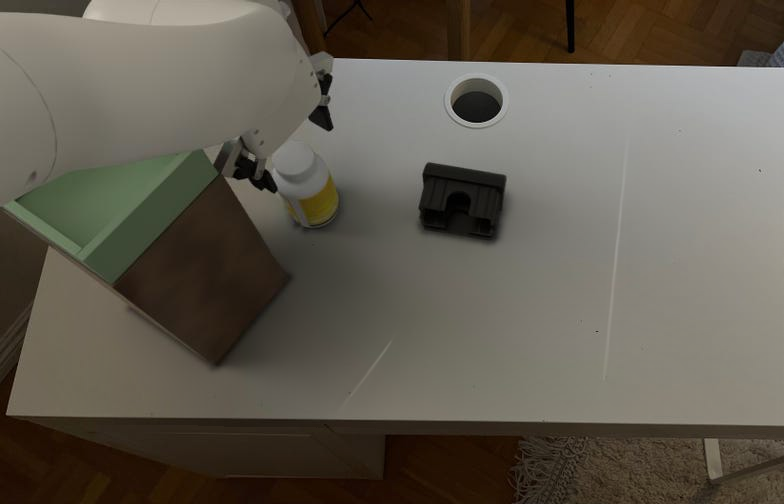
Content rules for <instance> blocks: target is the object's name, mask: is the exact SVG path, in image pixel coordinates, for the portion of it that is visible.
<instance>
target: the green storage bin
mask: <svg viewBox="0 0 784 504" xmlns="http://www.w3.org/2000/svg"><path fill="white" fill-rule="evenodd" d="M213 164H214V163H212V161H211V160H210V158H209V156H208V155H207V154H206V151H205V150H204V149H200V150H195V151H190V152H185V153H179V154H174V155H168V156H163V157H157V158H153V159H148V160H143V161H138V162H133V163H127V164H121V165H115V166H107V167H99V168H89V169H81V170H75V171H71V172H68V173H65V174H63V175H61V176H59V177H57V178H55V179H53V180H51V181H50V182H48V183H46V184H44V185H42V186H40V187H38V188H37V189H35V190H33V191H31V192H28V193H26V194H24V195H22V196H20V197H18V198H17V199H15V200H13V201H11V202H9V203H7V204H5V205H4V206H2V208H3V209H6V210H7V211H8V212H10V213H11V214H13V215H14V216H15V217H17V218H18V219H20V220H21V221H23V222H24V223H25V224H27V225H28V226H30V227H31V228H32V229H34V230H35V231H37V232H38V233H40V234H41V235H42V236H44V237H45V238H47V239H48V240H50V241H51V242H52V243H54V244H55V245H57V246H58V247H59V248H61V249H62V250H64V251H65V252H67V253H68V254H69V255H71V256H72V257H74V258H75V259H76V260H78V261H79V262H81V263H82V264H84V265H85V266H86V267H88V268H89V269H91V270H92V271H94V272H95V273H96V274H98V275H99V276H101V277H102V278H103V279H105V280H106V281H108V282H109V283H111V284H113V283H114V282H115V281H116V280H117V279H118V278H119V277H120V276H121V275H122V274H123V273H124V272H125V271H126V270H127V269H128V268H129V267H130V266H131V264H132V263H133V262H134V261H135V260H136V259H137V258H138V257H139V256H140V255H141V254H142V253H143V252H144V251H145V250H146V249H147V248H148V247H149V246H150V245H151V244H152V243H153V242H154V241H155V240H156V239H157V238H158V237H159V235H160V234H161V233H162V232H163V231H164V230H165V229H166V228H167V227H168V226H169V225H170V224H171V223H172V222H173V221H174V220H175V219H176V218H177V217H178V216H179V215H180V214H181V213H182V212H183V211H184V210H185V209H186V208H187V206H188V205H189V204H190V203H191V202H192V201H193V200H194V199H195V198H196V197H197V196H198V195H199V194H200V193H201V192H202V191H203V190H204V189H205V188H206V187H207V186H208V185H209V184H210V183H211V182H212V181H213V180H214V179H215V177H216V176H217V175H218V172H217V170H216V169H215V167H214V166H213Z"/></svg>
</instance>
